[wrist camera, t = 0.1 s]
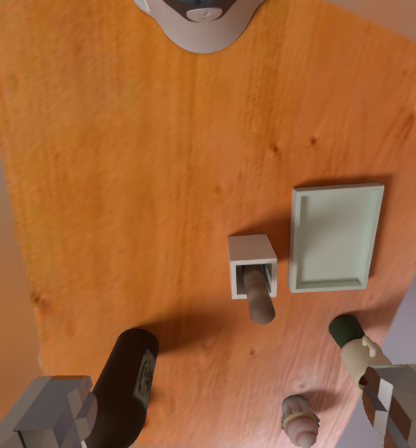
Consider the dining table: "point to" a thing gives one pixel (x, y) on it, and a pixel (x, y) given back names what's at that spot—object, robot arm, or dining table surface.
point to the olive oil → (124, 391)
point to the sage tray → (333, 236)
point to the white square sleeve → (251, 262)
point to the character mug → (356, 349)
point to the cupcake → (299, 421)
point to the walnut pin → (257, 294)
